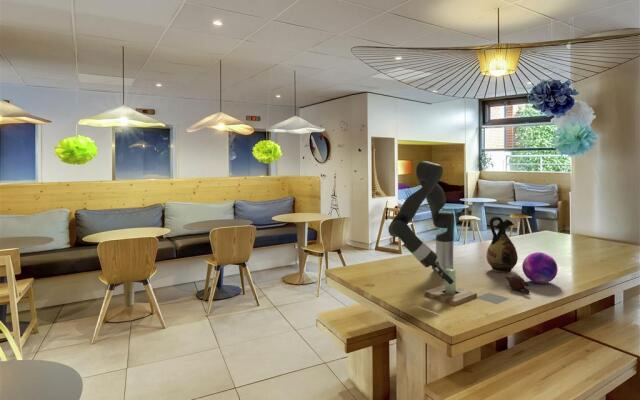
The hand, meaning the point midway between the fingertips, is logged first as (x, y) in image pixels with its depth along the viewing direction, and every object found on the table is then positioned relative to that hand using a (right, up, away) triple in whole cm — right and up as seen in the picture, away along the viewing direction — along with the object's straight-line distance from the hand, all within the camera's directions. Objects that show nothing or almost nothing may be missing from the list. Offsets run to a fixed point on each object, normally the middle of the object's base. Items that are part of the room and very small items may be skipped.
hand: (450, 280), depth 170 cm
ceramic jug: (+40, -3, +39) cm, 56 cm away
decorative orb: (+50, -5, +17) cm, 53 cm away
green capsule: (0, -7, +1) cm, 7 cm away
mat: (+17, -8, -3) cm, 19 cm away
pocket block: (0, -8, +1) cm, 8 cm away
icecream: (+34, -6, +9) cm, 36 cm away
